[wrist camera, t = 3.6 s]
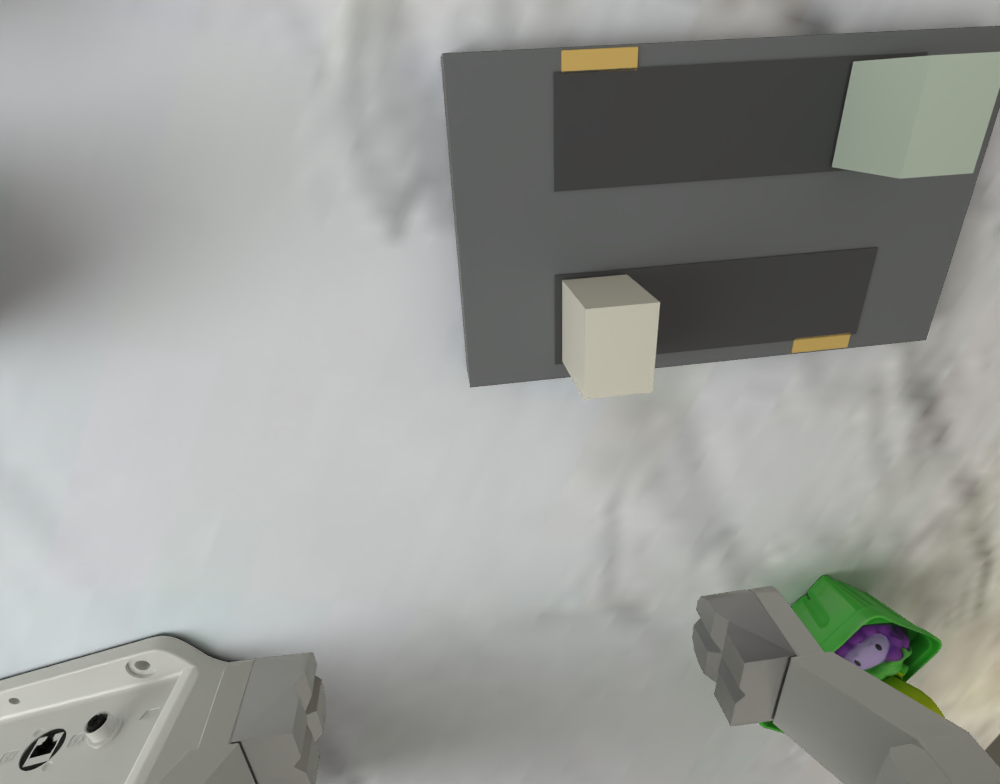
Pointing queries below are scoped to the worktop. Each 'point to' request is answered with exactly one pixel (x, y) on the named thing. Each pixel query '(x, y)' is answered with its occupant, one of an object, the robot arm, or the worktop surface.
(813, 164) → the switch panel
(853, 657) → the fruit basket
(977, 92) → the sage tab
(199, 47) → the worktop surface
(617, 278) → the cream tab
